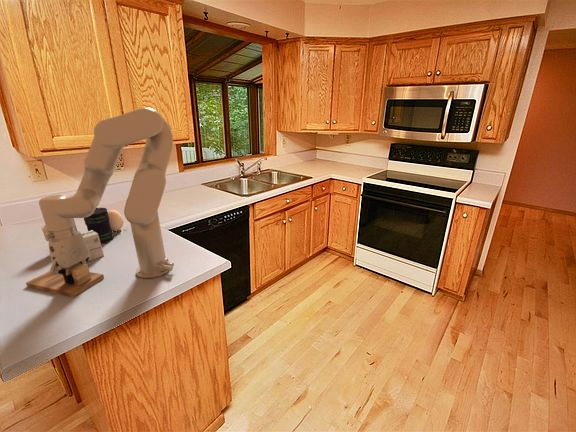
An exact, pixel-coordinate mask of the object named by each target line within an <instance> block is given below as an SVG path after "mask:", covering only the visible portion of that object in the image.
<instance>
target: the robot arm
mask: <svg viewBox="0 0 576 432" xmlns="http://www.w3.org/2000/svg"><path fill="white" fill-rule="evenodd" d="M143 140H145V145H144V148H143V153H142V155H141V159H140V161H139V165H138V166H137V168H136V170H135V173H134V176H133V179H132V181H131V186H130V189H129V193H128V196H127V198H126V201H125V205H124V208H123V214H124V217H125V219H126V220H127V221H128V222H129V223H130V224H129V225H130V228H131V233H132V238H133V242H134V243H133V244H134V248H135V251H136V256H137V257H136V258H137V261H138V267H137V268H136V269H135V273H136V276H137V277H139V278H141V279H154V278H157V277H161V276H163V275H165V274H167V273H168V272H171V271H173V268H174V266H175V263H174V262H171V261H170V260H169V258H168V257H166V252H165V245H164V240H163V236H162V229H161V223H160V218H159V207H160V204H161V200H162V198H163V195H164V192H165V189H166V183H167V181H166V180H167V178H166V172H167V169H168V166H169V163H170V158H171V156H172V155H171V154H172V151H173V147H174V146H173V145H174V139H173V133H172V130H171V127H170V125H169V123H168V122H167V120H166V119H165V118H164V117H163V116H162V114H160V112H159V111H158V110H156V109H155V108H152V107H148V106H147V107H141V108H137V109H135V110H131V111H129V112H126V113H122V114H120V115H116V116H113V117H109V118H106V119H101V120H100V121H98V122H97V123H96V124H95V126H94V128H93V139H92V141H91V144H90V146H89V148H88V151H87V154H86V156H85V158H84V162H83V166H84V172H83V176H82V178H81V181H80V183H79V186H78V188H77V190H76V192H75V193H74V194H73V195H72V196H69V197H67V196H66V195H63V194H54V195H47V196H44V197H42V198H40V199H39V201H38V205H39V209H40V212H41V215H42V218H43V220H44V225H46V227H47V230H48V231H47V232H48V234H47V235H45V236H44V239H45V238H46V239H49V238H50V240H49V241H48V249H49V255H50V260H51V262H52V264H51V266H50V268H49V271H50V272H52V273H59V274H63V277H64V280H65V282H66V283H67V284H72V285H73V284H74V279H73V276H72V274H70V267H71V266H73V265H75V264H77V263H81V264H87V265H88V262H89V261H88V259H89V257H90V255H91V254H92V252H91V251H90V250H89V249H88V247H87V244H86V242H85V239H84V237H83V236H82V234H81V233H82V232H81V231H78V229H77V226H76V225H77V224H76V221H75V219H84V218H86V217H89V216H91V215H92V214H93V213H94V211H95V210H96V208H98V206H99V205H100V202H101V200H102V198H103V195H104V193H105V190H106V188H107V185H108V184H109V182H110V179H111V178H112V176H113V175H114V172H115V169H116V166H117V165H118V162H119V160H120V158H121V156H122V154H123V151H124V148H125V146H128V145H133V144H134V143H135V144H136V143H138V142H140V141H143ZM46 239H45V240H46ZM87 261H88V262H87ZM59 266H60V270H59V269H57V268H58V267H59Z"/></svg>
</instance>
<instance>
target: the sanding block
mask: <svg viewBox="0 0 576 432" xmlns="http://www.w3.org/2000/svg"><path fill="white" fill-rule="evenodd" d="M90 272H91V271H90V269H89V266H88V263H87V264H81V263H77V264H75V265H73V266H71V267H70V274H72V276H73V279H74V284H73V285H76V286H81V285H83V284H84V283H86V282H88V281H89V280H91V276H90ZM62 277H63V274H62ZM63 280H64V277H63ZM64 283H66V282H65V280H64ZM71 285H72V284H71Z"/></svg>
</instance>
